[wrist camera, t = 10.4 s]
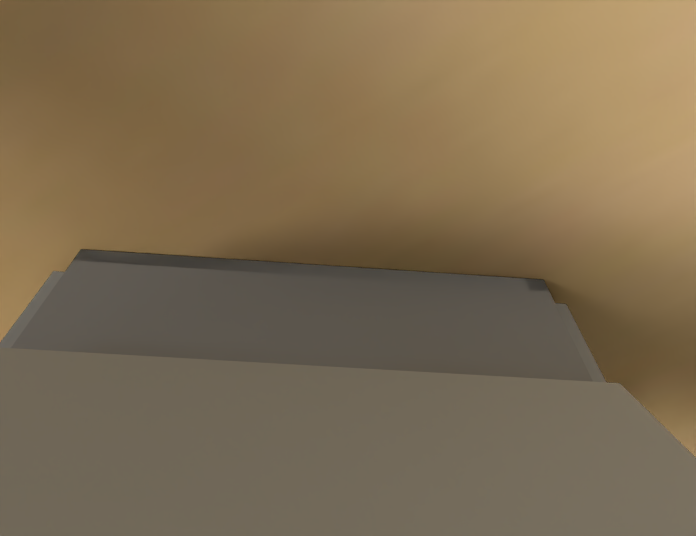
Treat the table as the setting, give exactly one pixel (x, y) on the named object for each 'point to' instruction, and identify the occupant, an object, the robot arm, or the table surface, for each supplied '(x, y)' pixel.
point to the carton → (304, 316)
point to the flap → (326, 452)
